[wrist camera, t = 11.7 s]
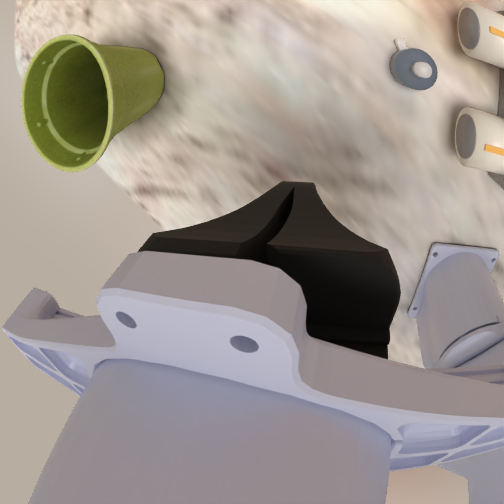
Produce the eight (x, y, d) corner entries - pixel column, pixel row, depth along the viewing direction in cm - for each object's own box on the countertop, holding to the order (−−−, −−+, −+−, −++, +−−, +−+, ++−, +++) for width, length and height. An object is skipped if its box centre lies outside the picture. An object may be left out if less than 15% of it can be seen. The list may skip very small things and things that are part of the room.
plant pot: (169, 146, 23) (105, 192, 16) (89, 119, 22) (21, 153, 16) (198, 41, 17) (127, 39, 10) (105, 27, 16) (27, 35, 10)
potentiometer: (431, 83, 14) (450, 89, 12) (397, 90, 16) (411, 96, 13) (415, 36, 13) (432, 32, 10) (379, 43, 14) (390, 39, 11)
